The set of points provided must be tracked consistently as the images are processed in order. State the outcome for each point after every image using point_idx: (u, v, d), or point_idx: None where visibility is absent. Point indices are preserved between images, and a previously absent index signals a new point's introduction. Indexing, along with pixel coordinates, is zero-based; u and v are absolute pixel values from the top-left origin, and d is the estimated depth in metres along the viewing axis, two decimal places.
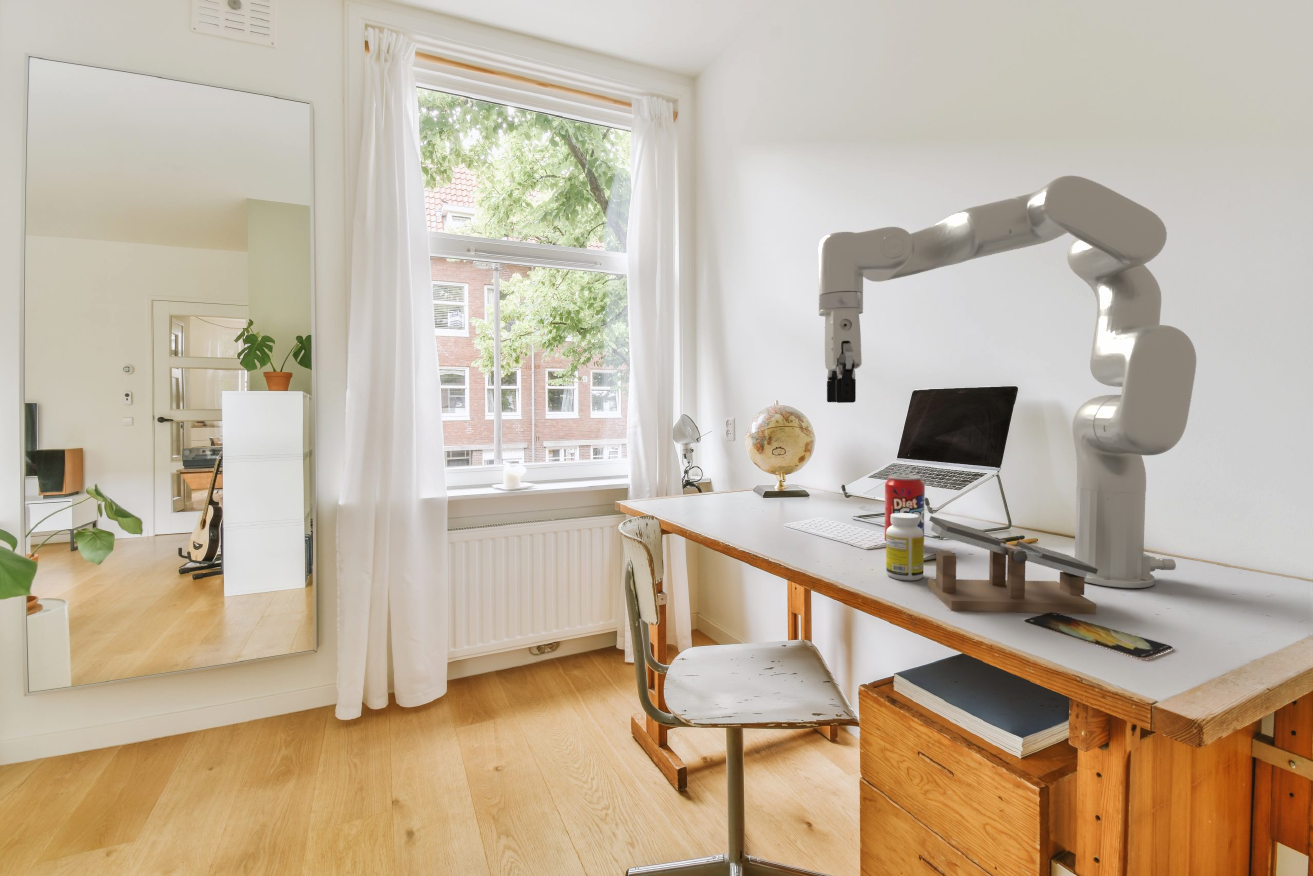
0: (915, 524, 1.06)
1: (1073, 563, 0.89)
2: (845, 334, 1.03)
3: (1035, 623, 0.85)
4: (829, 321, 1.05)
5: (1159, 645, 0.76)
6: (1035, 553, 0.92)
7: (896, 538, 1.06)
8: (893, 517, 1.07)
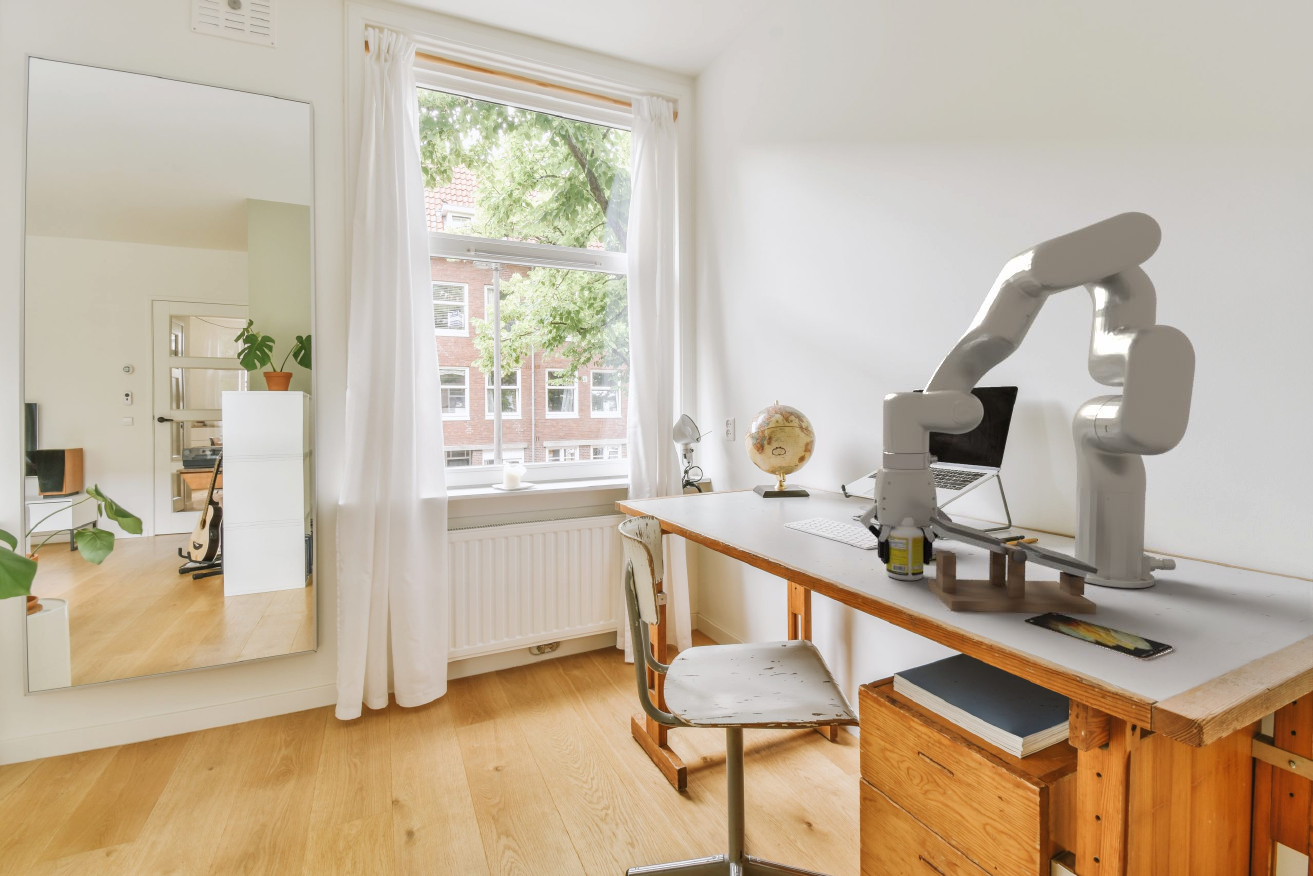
0: None
1: (1073, 563, 0.89)
2: None
3: (1035, 623, 0.85)
4: (924, 480, 1.04)
5: (1159, 644, 0.76)
6: (1035, 553, 0.92)
7: (896, 538, 1.06)
8: None
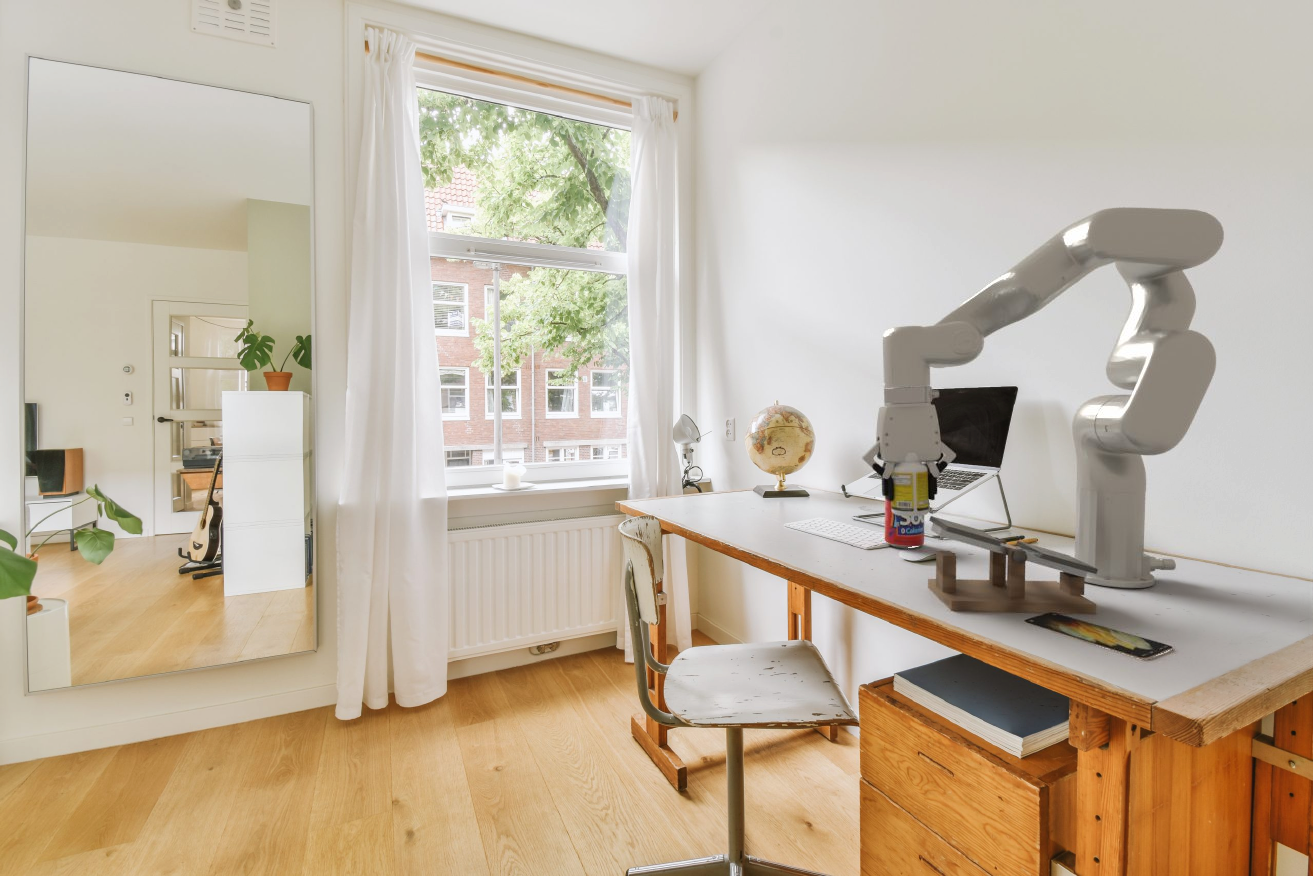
0: None
1: (1073, 563, 0.89)
2: None
3: (1035, 623, 0.85)
4: (926, 414, 1.04)
5: (1159, 645, 0.76)
6: (1035, 553, 0.92)
7: (900, 474, 1.05)
8: None
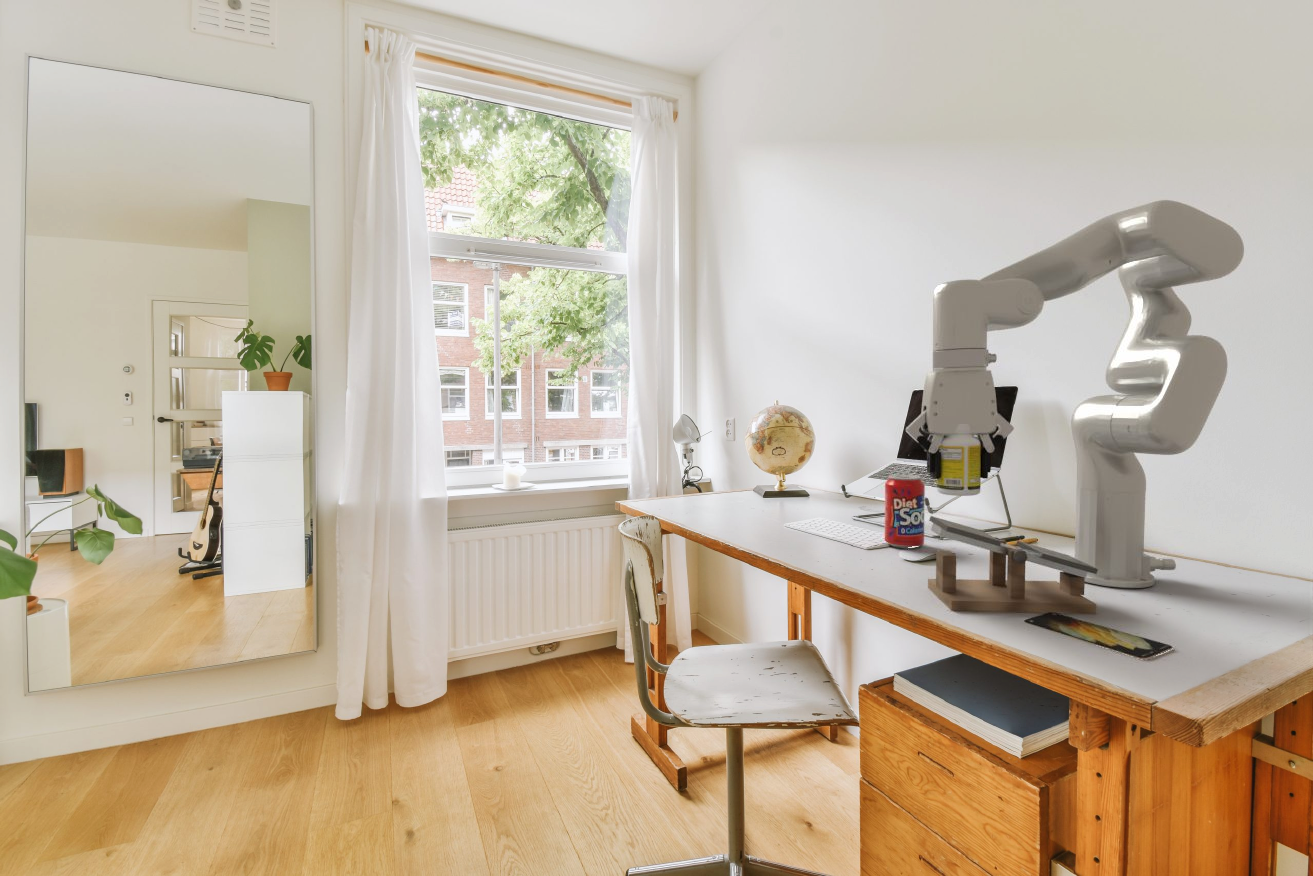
0: None
1: (1073, 563, 0.89)
2: None
3: (1035, 623, 0.85)
4: (982, 381, 0.91)
5: (1159, 644, 0.76)
6: (1035, 553, 0.92)
7: (950, 448, 0.93)
8: None
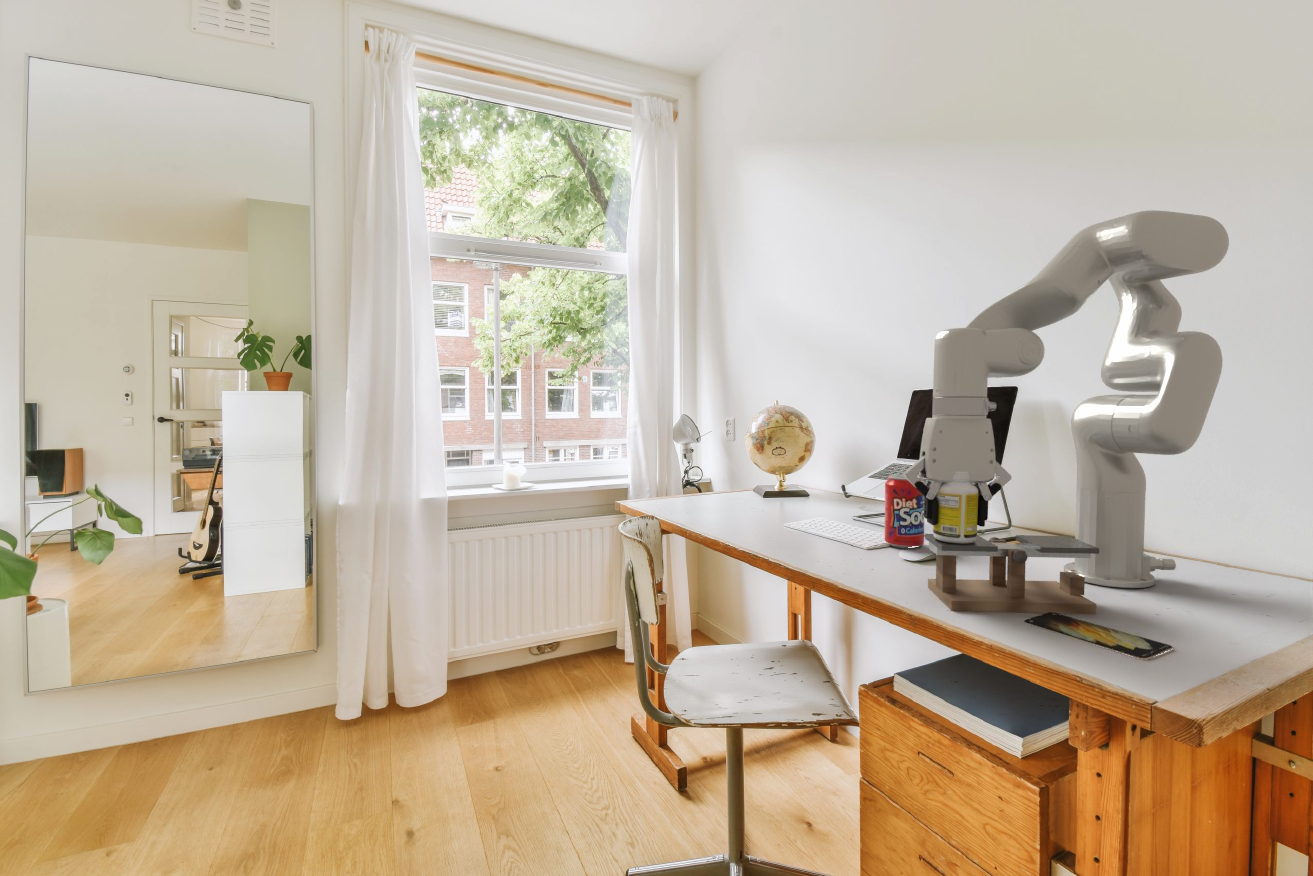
0: None
1: (1073, 549, 0.89)
2: None
3: (1035, 623, 0.85)
4: (981, 429, 0.91)
5: (1159, 644, 0.76)
6: (1034, 547, 0.92)
7: (947, 495, 0.92)
8: None
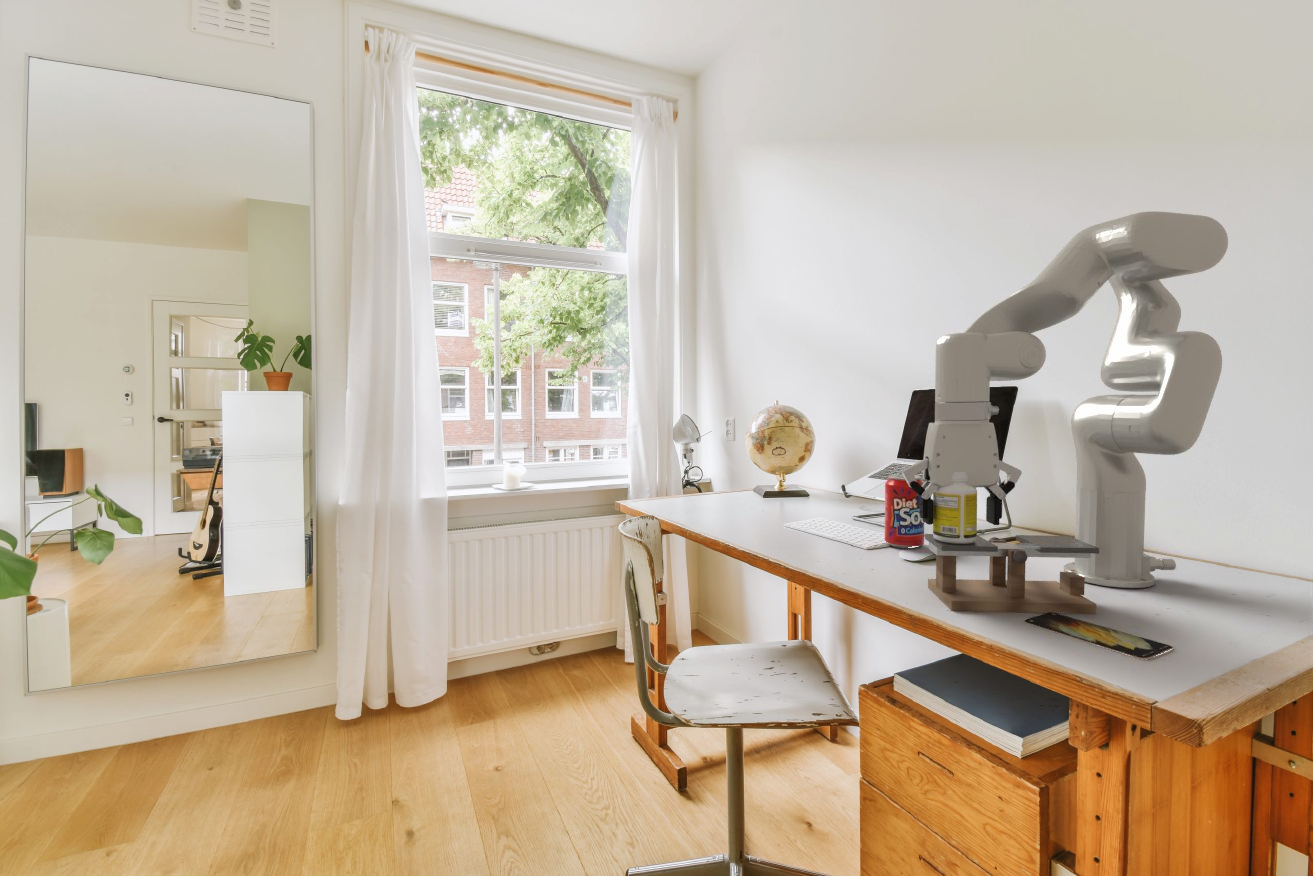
0: None
1: (1073, 549, 0.89)
2: None
3: (1035, 623, 0.84)
4: (984, 434, 0.91)
5: (1159, 644, 0.76)
6: (1034, 547, 0.92)
7: (946, 495, 0.92)
8: None
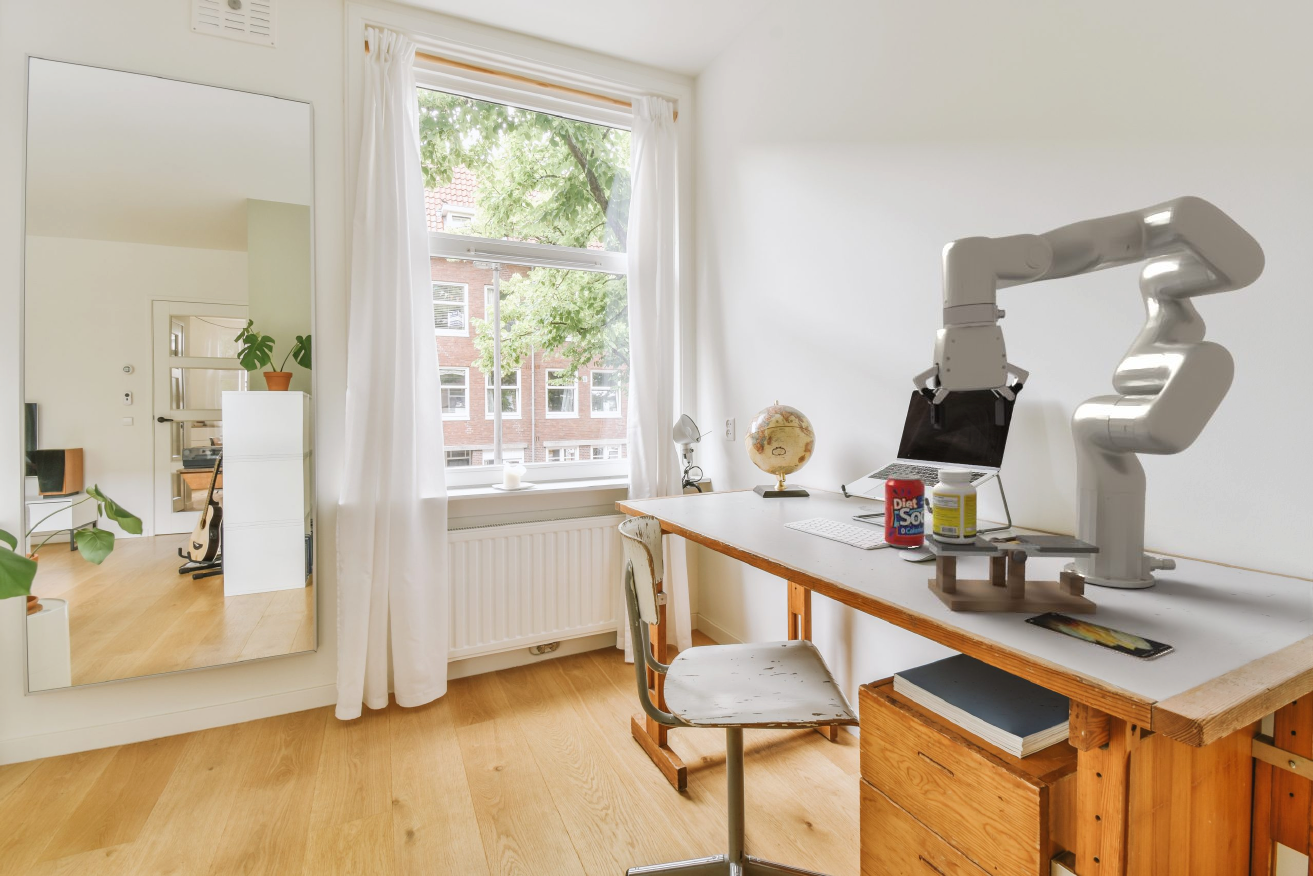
0: (967, 480, 0.92)
1: (1073, 548, 0.89)
2: None
3: (1035, 623, 0.84)
4: (993, 335, 0.93)
5: (1159, 644, 0.76)
6: (1034, 547, 0.92)
7: (946, 496, 0.92)
8: (941, 472, 0.94)
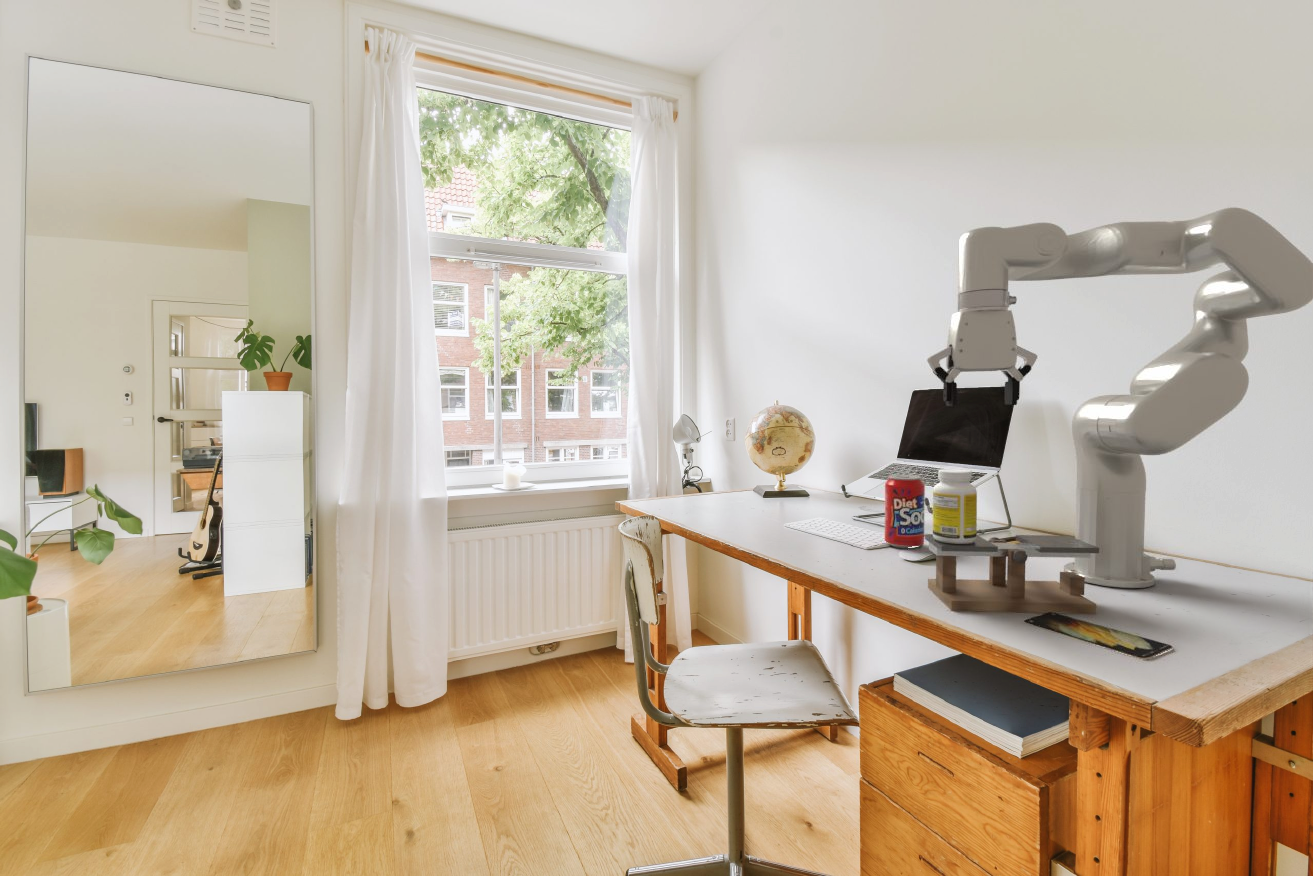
0: (967, 480, 0.92)
1: (1073, 548, 0.89)
2: None
3: (1035, 623, 0.84)
4: (1004, 319, 1.00)
5: (1159, 644, 0.76)
6: (1034, 547, 0.92)
7: (946, 496, 0.92)
8: (941, 472, 0.94)
